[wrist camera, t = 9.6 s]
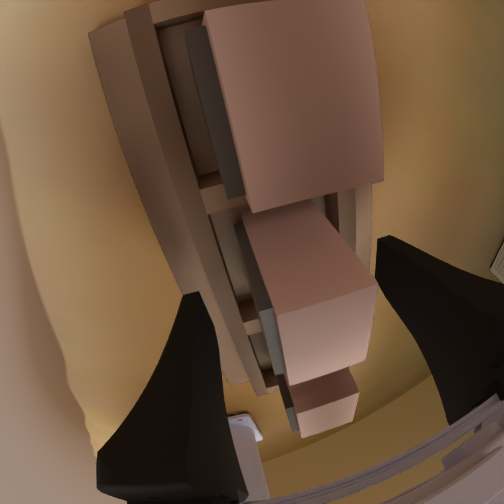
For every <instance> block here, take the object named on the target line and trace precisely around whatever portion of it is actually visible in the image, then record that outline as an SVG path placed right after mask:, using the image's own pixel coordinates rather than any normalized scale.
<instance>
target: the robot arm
mask: <svg viewBox="0 0 504 504" xmlns="http://www.w3.org/2000/svg"><path fill="white" fill-rule="evenodd" d="M375 279H376V281H377V283H378V284H379V286H380V288H381V290H382V292H383V294H384V295H385V297H386V299H387V300H388V301H389V303H390V304H391V306H392V307H393V308H394V310H395V311H396V313H397V314H398V315H399V317H400V318H401V320H402V321H403V323H404V324H405V325H406V327H407V328H408V330H409V331H410V333H411V334H412V336H413V337H414V339H415V340H416V342H417V344H418V346H419V348H420V350H421V352H422V354H423V356H424V358H425V360H426V362H427V364H428V366H429V369H430V371H431V373H432V375H433V378H434V380H435V383H436V386H437V388H438V391H439V394H440V397H441V400H442V403H443V407H444V410H445V414H446V418H447V422H448V423H449V425H450V426H449V427H447V428H446V429H444V430H442V431H441V432H439V433H437V434H436V435H434V436H432V437H430V438H429V439H427V440H425V441H423V442H422V443H420V444H418V445H416V446H414V447H412V448H410V449H409V450H407V451H405V452H402V453H401V454H398V455H396V456H394V457H392V458H390V459H388V460H386V461H384V462H381V463H379V464H377V465H374V466H372V467H370V468H367V469H365V470H363V471H360V472H357V473H355V474H352V475H350V476H347V477H344V478H342V479H339V480H336V481H333V482H330V483H327V484H324V485H321V486H318V487H314V488H311V489H308V490H304V491H301V492H297V493H293V494H289V495H285V496H281V497H277V498H272V499H270V496H269V492H268V488H267V484H266V480H265V476H264V472H263V468H262V464H261V460H260V455H259V451H258V447H257V443H256V441H260V440H262V439H263V437H262V435H261V433H260V431H259V430H258V428H257V426H256V425H255V423H254V421H253V420H252V418H251V416H250V415H249V414H247V413H244V414H240V415H235V416H231V417H227V413H226V408H225V402H224V393H223V383H222V373H221V362H220V351H219V345H218V340H217V335H216V331H215V326H214V324H213V322H212V319H211V317H210V315H209V313H208V310H207V308H206V306H205V303H204V301H203V299H202V297H201V294H200V292H199V291H196V292H192V293H189V294H185V295H183V297H182V299H181V302H180V306H179V309H178V312H177V315H176V318H175V321H174V324H173V327H172V330H171V332H170V335H169V338H168V341H167V343H166V346H165V348H164V350H163V353H162V355H161V357H160V360H159V362H158V364H157V366H156V368H155V370H154V372H153V374H152V376H151V378H150V380H149V382H148V384H147V386H146V387H145V389H144V391H143V393H142V394H141V396H140V398H139V399H138V401H137V402H136V404H135V406H134V407H133V409H132V410H131V411H130V413H129V414H128V416H127V417H126V418H125V420H124V421H123V423H122V424H121V425H120V427H119V428H118V429H117V431H116V432H115V433H114V434H113V435H112V436H111V438H110V439H109V440H108V441H107V442H106V443H105V444H104V446H103V447H102V448H101V449H100V450H99V451H98V453H97V462H96V467H97V468H96V474H97V475H96V476H97V489H98V490H99V491H101V492H102V493H105V494H107V495H110V496H113V497H116V498H119V499H122V500H126V501H127V504H326V503H329V502H332V501H335V500H338V499H341V498H344V497H346V496H349V495H352V494H354V493H357V492H360V491H362V490H365V489H367V488H370V487H372V486H374V485H377V484H379V483H381V482H383V481H386V480H388V479H390V478H392V477H394V476H396V475H398V474H400V473H402V472H404V471H406V470H408V469H410V468H412V467H414V466H416V465H418V464H420V463H421V462H423V461H425V460H427V459H429V458H430V457H432V456H434V455H435V454H437V453H439V452H440V451H442V450H444V449H445V448H447V447H449V446H450V445H452V444H453V443H455V442H456V441H458V440H459V439H461V438H462V437H464V436H465V435H467V434H468V433H469V432H471V431H472V430H474V429H475V428H476V429H475V431H474V435H473V436H472V437H470V438H469V439H467V440H466V441H465V442H463V443H462V444H460V445H459V446H458V447H457V448H456V449H454V450H453V451H452V452H450V453H449V454H447V455H446V456H445V457H443V458H442V460H441V461H442V463H443V465H444V468H445V469H444V470H443V471H441V472H440V473H438V474H436V475H434V476H433V477H431V478H429V479H428V480H426V481H424V482H422V483H420V484H418V485H417V486H415V487H413V488H411V489H409V490H407V491H405V492H403V493H401V494H399V495H397V496H394V497H392V498H390V499H388V500H386V501H384V502H381V503H379V504H504V284H502V283H498V282H495V281H492V280H488V279H485V278H482V277H479V276H476V275H474V274H471V273H469V272H466V271H464V270H461V269H459V268H456V267H454V266H452V265H450V264H448V263H446V262H444V261H441V260H439V259H437V258H435V257H433V256H431V255H429V254H427V253H425V252H424V251H422V250H420V249H418V248H416V247H414V246H412V245H410V244H408V243H406V242H404V241H402V240H400V239H398V238H396V237H393V236H391V235H388V236H385V237H382V238H379V239H377V254H376V268H375Z"/></svg>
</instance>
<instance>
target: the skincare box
mask: <svg viewBox="0 0 504 504" xmlns="http://www.w3.org/2000/svg"><path fill="white" fill-rule="evenodd" d="M490 270H491V272H492V273H493V274H494V275H496V276H497V277H498V278H499V279H500V280H501V281H502V282H503V283H504V242H503V244H502V246H501V248H500V250H499V252H498V254H497V256H496V259H495V261H494V263H493V265H492V267H491V269H490Z"/></svg>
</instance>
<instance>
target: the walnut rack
mask: <svg viewBox="0 0 504 504" xmlns="http://www.w3.org/2000/svg"><path fill="white" fill-rule="evenodd" d="M124 16H125V18H123V19H120V20H117V21H115V22H112V23H110V24H108V25H105V26H103V27H100V28H98V29H96V30H94V31H91V32H89V33H88V36H89V40H90V44H91V48H92V52H93V56H94V60H95V63H96V67H97V71H98V74H99V78H100V81H101V85H102V88H103V92H104V95H105V98H106V101H107V105H108V108H109V111H110V114H111V117H112V120H113V123H114V126H115V129H116V132H117V135H118V138H119V141H120V144H121V147H122V150H123V153H124V155H125V158H126V161H127V164H128V167H129V169H130V172H131V175H132V177H133V180H134V183H135V185H136V188H137V190H138V193H139V195H140V198H141V201H142V203H143V206H144V208H145V210H146V213H147V215H148V218H149V220H150V223H151V225H152V227H153V230H154V232H155V235H156V237H157V239H158V241H159V244H160V246H161V248H162V251H163V253H164V255H165V257H166V260H167V262H168V264H169V266H170V269H171V271H172V273H173V275H174V277H175V279H176V282H177V284H178V286H179V288H180V290H181V292H182V294H183V295H185V294H189V293H192V292H196V291H199V292H200V294H201V297H202V299H203V301H204V303H205V306H206V308H207V310H208V313H209V315H210V317H211V319H212V322H213V324H214V326H215V331H216V335H217V340H218V345H219V351H220V362H221V370H222V372H223V374H224V376H225V377H226V379H227V381H228V383H229V385H230V386H232V385H236V384H240V383H244V382H248V381H250V382H251V384H252V387H253V389H254V391H255V393H256V396H261V395H264V394H268V393H272V392H275V391H279V390H280V393H281V396H282V399H283V403H284V406H285V409H286V413H287V416H288V419H289V422H290V426H291V429H292V432H294V431H297V430H299V431H300V434H301V437H302V438H304V437H308V436H311V435H314V434H317V433H320V432H323V431H326V430H329V429H332V428H335V427H337V426H340V425H343V424H345V423H348V422H351V421H352V420H353V417H354V413H355V409H356V405H357V401H358V396H359V390H358V388H357V386H356V383H355V381H354V379H353V377H352V375H351V373H350V371H349V369H348V367H346V368H343V369H340V370H338V371H335V372H332V373H329V374H326V375H323V376H320V377H317V378H314V379H311V380H307V381H304V382H301V383H298V384H294V385H291V386H289V382H288V379H287V376H286V373H282V374H278V375H275V374H274V370H273V367H272V363H271V360H270V357H269V353H268V350H267V346H266V343H265V340H264V336H263V333H262V329H261V326H260V322H259V319H258V315H257V312H256V309H255V305H254V302H253V298H252V295H251V291H250V288H249V284H248V280H247V276H246V272H245V268H244V264H243V260H242V256H241V252H240V248H239V244H238V240H237V237H236V233H235V229H234V224H238V223H242V219H241V214H240V212H244V211H248V210H251V211H252V213H257V212H260V211H264V210H268V209H272V208H275V207H279V206H283V205H287V204H291V203H295V202H298V201H302V200H306V199H311V201H312V202H313V203H314V204H315V205H316V206H317V208H318V209H319V210H320V211H321V212H322V213H323V215H324V216H325V217H326V218H327V219H328V221H329V222H330V223H331V224H332V225H333V227H334V228H335V229H336V230H337V232H338V233H339V234H340V235H341V236H342V238H343V239H344V240H345V241H346V243H347V244H348V245H349V246H350V248H351V249H352V250H353V251H354V253H355V254H356V255H357V256H358V258H359V259H360V260H361V262H362V263H363V264H364V265H365V267H366V268H367V269H368V271H369V269H370V253H371V228H372V184H373V183H377V182H381V181H383V136H382V118H381V104H380V93H379V83H378V74H377V66H376V59H375V52H374V45H373V39H372V33H371V28H370V22H369V17H368V12H367V7H366V3H365V0H158V1H155V2H152V3H149V4H145V5H142V6H139V7H137V8H134V9H131V10H128V11H125V12H124Z"/></svg>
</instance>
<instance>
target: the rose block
mask: <svg viewBox="0 0 504 504" xmlns="http://www.w3.org/2000/svg"><path fill="white" fill-rule="evenodd" d="M240 214H241V219H242V223H238V224H234V229H235V233H236V237H237V240H238V244H239V248H240V252H241V256H242V260H243V264H244V268H245V272H246V276H247V280H248V284H249V288H250V291H251V295H252V298H253V302H254V305H255V309H256V312H257V315H258V319H259V322H260V326H261V329H262V333H263V336H264V340H265V343H266V346H267V350H268V353H269V357H270V360H271V363H272V367H273V370H274V374H275V375H278V374H282V373H286V376H287V379H288V382H289V386H291V385H294V384H298V383H301V382H304V381H307V380H311V379H314V378H317V377H320V376H323V375H326V374H329V373H332V372H335V371H338V370H340V369H343V368H346V367H349V366H351V365H354V364H357V363H359V362H362V361H364V360H365V359H366V354H367V349H368V344H369V339H370V334H371V328H372V323H373V317H374V310H375V304H376V297H377V290H378V283H377V281H376V280H375V279H374V277H373V276H372V275H371V273H370V272H369V271H368V269H367V268H366V267H365V265H364V264H363V263H362V262H361V260H360V259H359V258H358V256H357V255H356V254H355V253H354V251H353V250H352V249H351V248H350V246H349V245H348V244H347V243H346V241H345V240H344V239H343V238H342V236H341V235H340V234H339V233H338V232H337V230H336V229H335V228H334V227H333V225H332V224H331V223H330V222H329V221H328V219H327V218H326V217H325V216H324V215H323V213H322V212H321V211H320V210H319V209H318V208H317V206H316V205H315V204H314V203H313V202H312V201H311V199H306V200H302V201H298V202H295V203H291V204H287V205H283V206H279V207H275V208H272V209H268V210H264V211H260V212H257V213H252V211H251V210H248V211H244V212H240Z"/></svg>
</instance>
